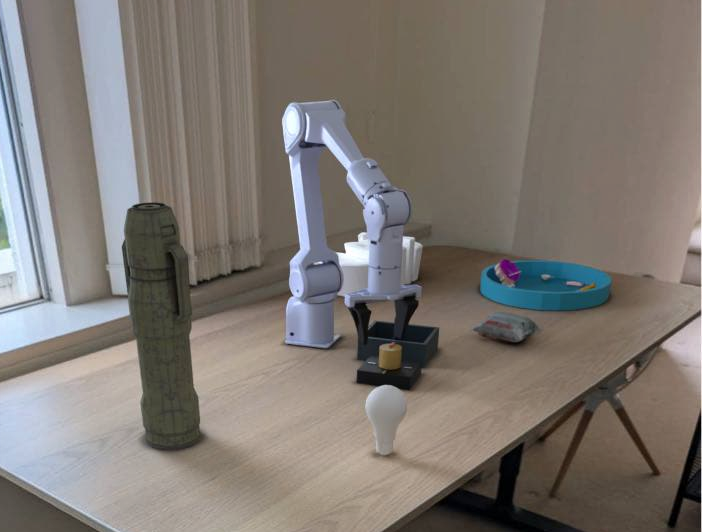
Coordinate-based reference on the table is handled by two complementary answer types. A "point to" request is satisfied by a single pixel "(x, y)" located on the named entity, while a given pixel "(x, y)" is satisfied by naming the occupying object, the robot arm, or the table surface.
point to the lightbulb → (385, 415)
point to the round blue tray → (545, 285)
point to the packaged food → (506, 327)
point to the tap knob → (390, 356)
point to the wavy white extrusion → (358, 263)
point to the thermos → (161, 324)
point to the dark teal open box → (414, 348)
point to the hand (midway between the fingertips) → (381, 340)
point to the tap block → (389, 374)
